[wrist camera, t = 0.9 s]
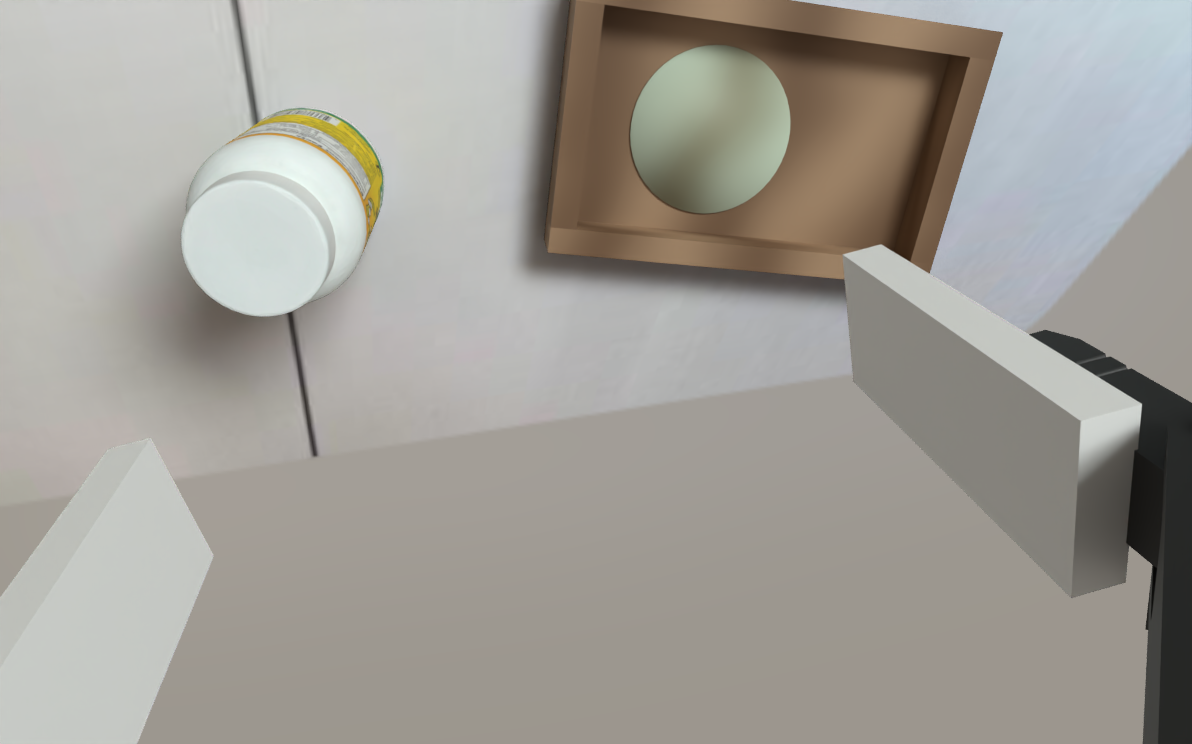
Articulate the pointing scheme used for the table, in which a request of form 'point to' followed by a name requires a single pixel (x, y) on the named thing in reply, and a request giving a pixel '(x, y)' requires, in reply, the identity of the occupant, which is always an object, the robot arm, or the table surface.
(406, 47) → the table surface
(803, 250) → the tray
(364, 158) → the supplement bottle
